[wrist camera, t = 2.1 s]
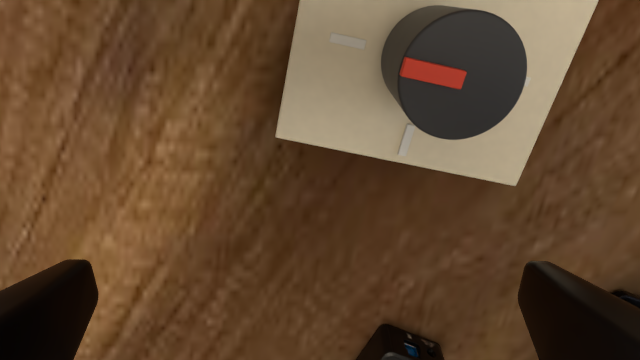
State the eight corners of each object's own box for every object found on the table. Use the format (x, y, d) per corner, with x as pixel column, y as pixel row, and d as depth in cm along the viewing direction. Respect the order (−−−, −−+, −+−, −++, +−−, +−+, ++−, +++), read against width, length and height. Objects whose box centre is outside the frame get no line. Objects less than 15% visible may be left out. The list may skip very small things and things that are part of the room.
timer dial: (498, 18, 16) (555, 27, 12) (461, 118, 18) (502, 154, 14) (396, -6, 16) (422, -5, 12) (369, 98, 17) (384, 129, 13)
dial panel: (569, -29, 18) (616, -33, 15) (491, 162, 22) (517, 188, 19) (319, -92, 17) (319, -109, 14) (280, 118, 21) (274, 138, 18)
